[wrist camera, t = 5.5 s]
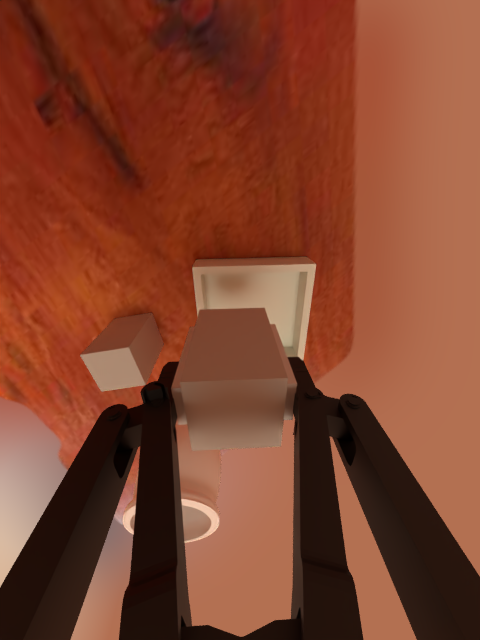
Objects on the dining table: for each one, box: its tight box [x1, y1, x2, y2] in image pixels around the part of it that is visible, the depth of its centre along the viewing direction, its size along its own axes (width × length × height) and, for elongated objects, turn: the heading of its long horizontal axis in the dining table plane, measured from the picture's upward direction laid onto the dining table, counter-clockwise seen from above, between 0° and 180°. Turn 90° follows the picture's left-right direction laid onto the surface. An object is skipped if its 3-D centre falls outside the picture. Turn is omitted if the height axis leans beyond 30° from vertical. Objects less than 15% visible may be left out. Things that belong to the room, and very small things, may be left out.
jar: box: [123, 421, 221, 543], centre depth 32 cm, size 11×10×15 cm
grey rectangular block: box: [80, 312, 164, 392], centre depth 28 cm, size 5×5×8 cm
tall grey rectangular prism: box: [180, 308, 288, 451], centre depth 16 cm, size 5×5×8 cm
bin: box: [192, 257, 316, 360], centre depth 29 cm, size 13×13×4 cm
